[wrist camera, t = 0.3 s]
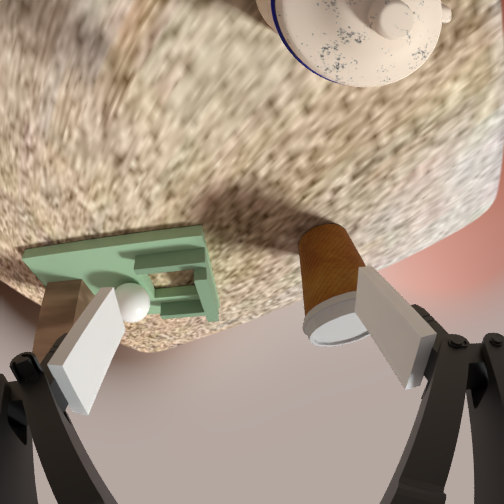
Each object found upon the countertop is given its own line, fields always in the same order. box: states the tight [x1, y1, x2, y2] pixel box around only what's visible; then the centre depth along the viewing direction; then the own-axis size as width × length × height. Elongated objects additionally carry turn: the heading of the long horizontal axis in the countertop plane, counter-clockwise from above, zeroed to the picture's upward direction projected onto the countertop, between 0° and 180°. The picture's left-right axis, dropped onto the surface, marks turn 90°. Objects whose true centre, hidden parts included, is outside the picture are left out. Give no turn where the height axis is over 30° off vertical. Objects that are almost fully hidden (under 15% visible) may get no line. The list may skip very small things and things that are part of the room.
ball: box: [115, 283, 150, 322], centre depth 37 cm, size 5×5×5 cm
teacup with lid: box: [256, 0, 451, 87], centre depth 12 cm, size 12×9×12 cm
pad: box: [22, 225, 220, 322], centre depth 37 cm, size 16×24×5 cm, turn 92°
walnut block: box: [32, 279, 95, 364], centre depth 33 cm, size 5×6×14 cm
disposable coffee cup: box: [298, 224, 370, 347], centre depth 34 cm, size 10×10×12 cm
